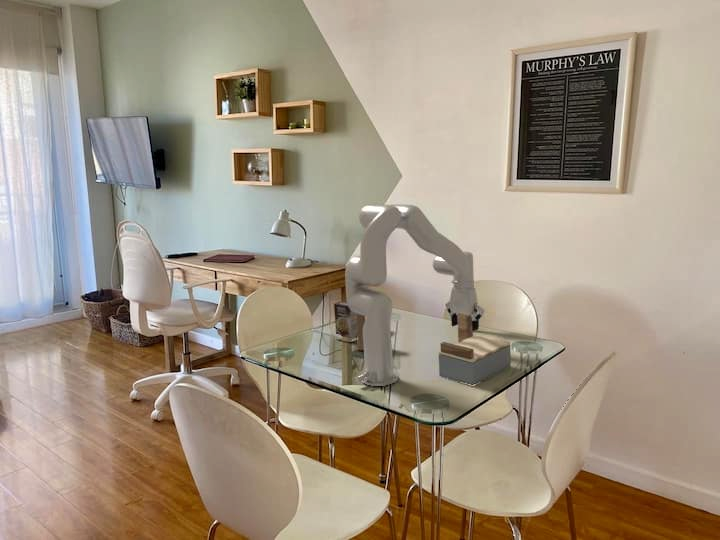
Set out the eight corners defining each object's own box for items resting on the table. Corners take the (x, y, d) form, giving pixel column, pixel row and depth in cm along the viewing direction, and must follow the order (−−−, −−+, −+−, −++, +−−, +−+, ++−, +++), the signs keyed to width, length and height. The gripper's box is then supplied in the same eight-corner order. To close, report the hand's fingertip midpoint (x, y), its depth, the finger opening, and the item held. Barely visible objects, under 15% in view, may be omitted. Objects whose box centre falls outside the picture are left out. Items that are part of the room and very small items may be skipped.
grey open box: (473, 386, 175) (472, 363, 174) (439, 376, 185) (438, 354, 184) (510, 366, 190) (510, 345, 188) (477, 358, 200) (476, 337, 198)
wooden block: (384, 350, 215) (381, 306, 211) (357, 351, 216) (354, 307, 212) (384, 347, 218) (382, 304, 215) (358, 348, 219) (355, 305, 216)
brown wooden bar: (467, 351, 207) (465, 306, 203) (458, 349, 210) (456, 305, 206) (473, 348, 210) (471, 304, 206) (465, 346, 213) (463, 302, 209)
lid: (472, 362, 174) (472, 351, 173) (438, 353, 184) (438, 342, 183) (510, 344, 188) (510, 333, 187) (476, 336, 198) (476, 326, 198)
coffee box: (335, 339, 232) (333, 303, 229) (345, 335, 236) (343, 300, 233) (351, 343, 226) (349, 306, 223) (361, 339, 231) (359, 302, 227)
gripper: (439, 283, 209) (441, 326, 212) (476, 289, 196) (477, 334, 199) (451, 280, 214) (452, 321, 217) (488, 285, 201) (489, 329, 204)
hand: (464, 327), depth 208 cm, fingers open, 9 cm apart
